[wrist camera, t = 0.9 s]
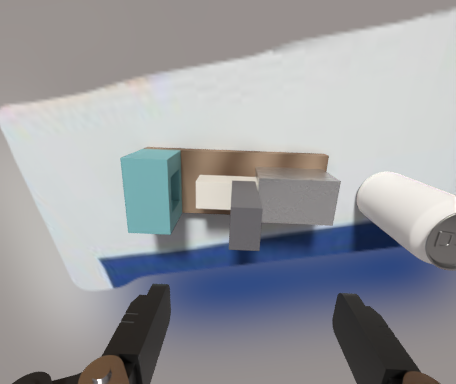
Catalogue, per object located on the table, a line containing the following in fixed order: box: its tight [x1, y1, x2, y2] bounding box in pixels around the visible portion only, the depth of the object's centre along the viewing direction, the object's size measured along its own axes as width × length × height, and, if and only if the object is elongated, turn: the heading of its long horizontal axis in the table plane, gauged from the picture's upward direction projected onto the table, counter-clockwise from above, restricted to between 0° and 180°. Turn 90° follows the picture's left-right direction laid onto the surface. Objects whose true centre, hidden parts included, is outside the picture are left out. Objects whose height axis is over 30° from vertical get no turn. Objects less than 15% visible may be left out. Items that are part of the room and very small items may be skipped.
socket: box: [120, 149, 182, 235], centre depth 28 cm, size 4×8×6 cm, turn 178°
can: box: [357, 172, 456, 270], centre depth 26 cm, size 6×6×12 cm
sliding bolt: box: [196, 175, 263, 251], centre depth 24 cm, size 14×4×10 cm, turn 88°
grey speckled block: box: [255, 167, 341, 226], centre depth 28 cm, size 8×5×5 cm, turn 88°
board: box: [144, 147, 329, 215], centre depth 31 cm, size 22×8×2 cm, turn 88°
